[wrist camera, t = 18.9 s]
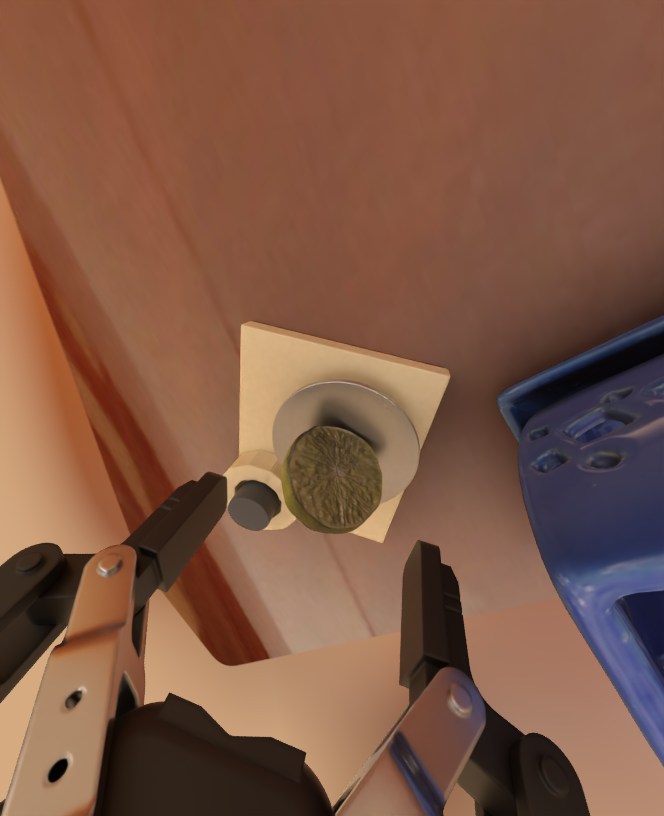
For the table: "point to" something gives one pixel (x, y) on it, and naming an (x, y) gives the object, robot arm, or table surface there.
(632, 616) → the flower pot
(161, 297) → the table surface
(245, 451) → the scale
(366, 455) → the lime
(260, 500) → the tare button
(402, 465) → the weighing plate
